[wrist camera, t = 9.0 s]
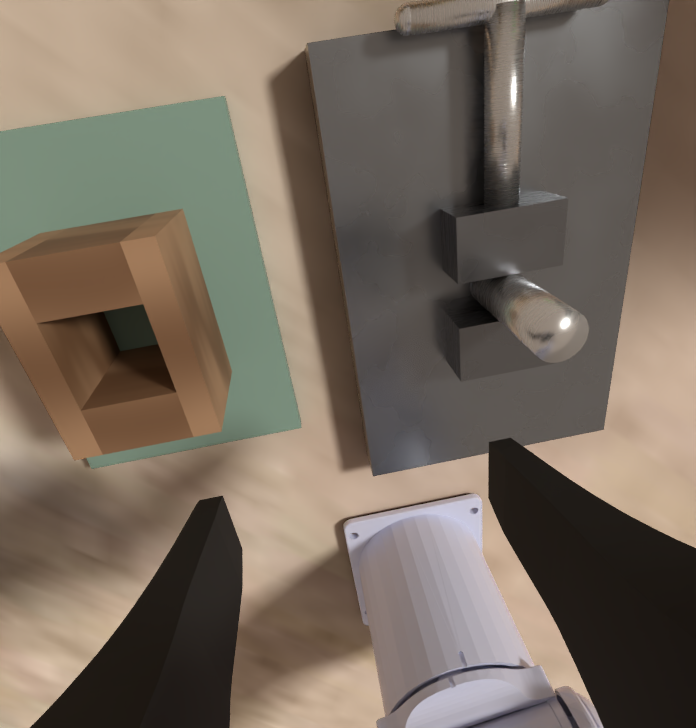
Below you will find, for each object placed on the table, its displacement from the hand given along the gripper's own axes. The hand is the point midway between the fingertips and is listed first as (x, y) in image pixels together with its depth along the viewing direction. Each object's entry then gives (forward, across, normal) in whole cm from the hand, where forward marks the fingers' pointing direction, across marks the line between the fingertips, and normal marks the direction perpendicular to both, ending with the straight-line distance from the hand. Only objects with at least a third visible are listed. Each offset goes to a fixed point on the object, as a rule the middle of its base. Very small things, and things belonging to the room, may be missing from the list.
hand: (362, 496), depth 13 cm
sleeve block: (+9, +7, -3) cm, 12 cm away
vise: (+10, -7, -2) cm, 12 cm away
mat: (+10, +7, -3) cm, 12 cm away
